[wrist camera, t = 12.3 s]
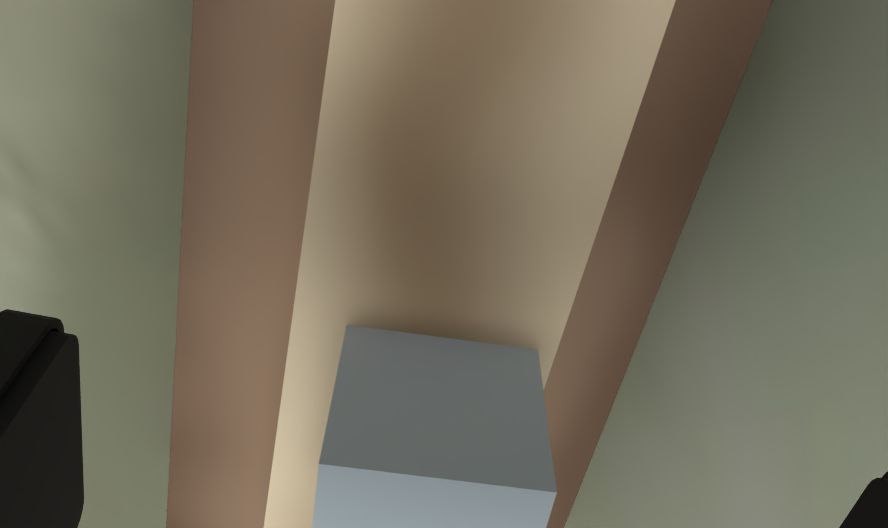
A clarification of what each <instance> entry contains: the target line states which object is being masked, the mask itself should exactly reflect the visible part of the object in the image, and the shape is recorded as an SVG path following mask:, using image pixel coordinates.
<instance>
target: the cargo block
mask: <svg viewBox="0 0 888 528" xmlns="http://www.w3.org/2000/svg"><path fill="white" fill-rule="evenodd" d="M556 494H557V491H556V483H555V475H554V468H553V460H552V452H551V445H550V437H549V430H548V422H547V414H546V407H545V399H544V391H543V384H542V376H541V369H540V361H539V353H538V350H535V349H528V348H520V347H513V346H505V345H497V344H490V343H482V342H474V341H467V340H459V339H452V338H444V337H436V336H429V335H421V334H413V333H406V332H398V331H391V330H383V329H375V328H368V327H360V326H353V325H346V330H345V335H344V340H343V345H342V350H341V355H340V360H339V365H338V370H337V375H336V380H335V385H334V390H333V395H332V400H331V405H330V410H329V415H328V420H327V425H326V430H325V435H324V440H323V445H322V450H321V455H320V460H319V465H318V475H317V485H316V495H315V506H314V516H313V526H312V528H546V527H547V523H548V520H549V517H550V513H551V510H552V507H553V504H554V500H555V497H556Z"/></svg>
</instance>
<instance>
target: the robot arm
mask: <svg viewBox="0 0 888 528" xmlns="http://www.w3.org/2000/svg"><path fill="white" fill-rule="evenodd" d="M83 504H84V486H83V456H82V427H81V397H80V368H79V344H78V339H77V337H76V336H75V335H73V334H67V333H64V327H63V324H62V322H61V320H60V319H57V318H53V317H47V316H42V315H36V314H30V313H25V312H19V311H14V310H8V309H7V310H4V311H1V312H0V528H77V527H78V524H79V521H80V518H81V514H82V510H83ZM839 528H888V472H886V473H885V474H884V476H883V477H882V478H876V479H874V480H872V481H871V482H870V483H869V484H868V486H867V487H866V489H865V490H864V492H863V493H862V495H861V496H860V498H859V499H858V501H857V502H856V504H855V505H854V507H853V508H852V510H851V511H850V513H849V514H848V516H847V517H846V518H845V520H844V521H843V523H842V524H841V526H840V527H839Z"/></svg>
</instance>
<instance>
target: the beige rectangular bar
mask: <svg viewBox="0 0 888 528" xmlns="http://www.w3.org/2000/svg"><path fill="white" fill-rule="evenodd" d="M675 1H676V0H335V7H334V14H333V21H332V29H331V36H330V43H329V51H328V58H327V65H326V73H325V80H324V87H323V95H322V102H321V110H320V117H319V124H318V132H317V139H316V146H315V154H314V161H313V168H312V176H311V183H310V190H309V198H308V205H307V212H306V220H305V227H304V234H303V242H302V249H301V256H300V264H299V271H298V278H297V286H296V293H295V300H294V308H293V315H292V323H291V330H290V337H289V345H288V352H287V359H286V367H285V374H284V381H283V389H282V396H281V403H280V411H279V418H278V425H277V433H276V440H275V447H274V455H273V462H272V469H271V477H270V484H269V491H268V499H267V506H266V514H265V521H264V528H312V526H313V516H314V506H315V495H316V485H317V475H318V465H319V460H320V455H321V450H322V445H323V440H324V435H325V430H326V425H327V420H328V415H329V410H330V405H331V400H332V395H333V390H334V385H335V380H336V375H337V370H338V365H339V360H340V355H341V350H342V345H343V340H344V335H345V330H346V325H353V326H360V327H368V328H375V329H383V330H391V331H398V332H406V333H413V334H421V335H429V336H436V337H444V338H452V339H459V340H467V341H474V342H482V343H490V344H497V345H505V346H513V347H520V348H528V349H535V350H538V353H539V361H540V369H541V376H542V384H543V391H544V388H545V385H546V382H547V379H548V376H549V373H550V370H551V367H552V364H553V361H554V358H555V355H556V352H557V349H558V346H559V343H560V340H561V337H562V334H563V332H564V329H565V326H566V323H567V320H568V317H569V314H570V311H571V308H572V305H573V302H574V299H575V296H576V293H577V290H578V287H579V284H580V281H581V278H582V275H583V273H584V270H585V267H586V264H587V261H588V258H589V255H590V252H591V249H592V246H593V243H594V240H595V237H596V234H597V231H598V228H599V225H600V222H601V219H602V216H603V214H604V211H605V208H606V205H607V202H608V199H609V196H610V193H611V190H612V187H613V184H614V181H615V178H616V175H617V172H618V169H619V166H620V163H621V160H622V157H623V155H624V152H625V149H626V146H627V143H628V140H629V137H630V134H631V131H632V128H633V125H634V122H635V119H636V116H637V113H638V110H639V107H640V104H641V101H642V98H643V96H644V93H645V90H646V87H647V84H648V81H649V78H650V75H651V72H652V69H653V66H654V63H655V60H656V57H657V54H658V51H659V48H660V45H661V42H662V39H663V36H664V34H665V31H666V28H667V25H668V22H669V19H670V16H671V13H672V10H673V7H674V4H675Z"/></svg>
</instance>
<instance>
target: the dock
mask: <svg viewBox="0 0 888 528" xmlns="http://www.w3.org/2000/svg"><path fill="white" fill-rule="evenodd" d="M772 2H773V0H676V1H675V4H674V7H673V10H672V13H671V16H670V19H669V22H668V25H667V28H666V31H665V34H664V36H663V39H662V42H661V45H660V48H659V51H658V54H657V57H656V60H655V63H654V66H653V69H652V72H651V75H650V78H649V81H648V84H647V87H646V90H645V93H644V96H643V98H642V101H641V104H640V107H639V110H638V113H637V116H636V119H635V122H634V125H633V128H632V131H631V134H630V137H629V140H628V143H627V146H626V149H625V152H624V155H623V157H622V160H621V163H620V166H619V169H618V172H617V175H616V178H615V181H614V184H613V187H612V190H611V193H610V196H609V199H608V202H607V205H606V208H605V211H604V214H603V216H602V219H601V222H600V225H599V228H598V231H597V234H596V237H595V240H594V243H593V246H592V249H591V252H590V255H589V258H588V261H587V264H586V267H585V270H584V273H583V275H582V278H581V281H580V284H579V287H578V290H577V293H576V296H575V299H574V302H573V305H572V308H571V311H570V314H569V317H568V320H567V323H566V326H565V329H564V332H563V334H562V337H561V340H560V343H559V346H558V349H557V352H556V355H555V358H554V361H553V364H552V367H551V370H550V373H549V376H548V379H547V382H546V385H545V388H544V399H545V407H546V414H547V422H548V430H549V437H550V445H551V452H552V460H553V468H554V475H555V483H556V491H557V494H556V497H555V500H554V504H553V507H552V510H551V513H550V517H549V520H548V523H547V527H546V528H564V526H565V523H566V521H567V518H568V516H569V513H570V511H571V508H572V506H573V503H574V501H575V498H576V496H577V493H578V491H579V488H580V486H581V483H582V481H583V478H584V476H585V473H586V471H587V468H588V465H589V463H590V460H591V458H592V455H593V453H594V450H595V448H596V445H597V443H598V440H599V438H600V435H601V433H602V430H603V428H604V425H605V423H606V420H607V418H608V415H609V413H610V410H611V408H612V405H613V403H614V400H615V398H616V395H617V393H618V390H619V387H620V385H621V382H622V380H623V377H624V375H625V372H626V370H627V367H628V365H629V362H630V360H631V357H632V355H633V352H634V350H635V347H636V345H637V342H638V340H639V337H640V335H641V332H642V330H643V327H644V325H645V322H646V320H647V317H648V315H649V312H650V309H651V307H652V304H653V302H654V299H655V297H656V294H657V292H658V289H659V287H660V284H661V282H662V279H663V277H664V274H665V272H666V269H667V267H668V264H669V262H670V259H671V257H672V254H673V252H674V249H675V247H676V244H677V242H678V239H679V237H680V234H681V231H682V229H683V226H684V224H685V221H686V219H687V216H688V214H689V211H690V209H691V206H692V204H693V201H694V199H695V196H696V194H697V191H698V189H699V186H700V184H701V181H702V179H703V176H704V174H705V171H706V169H707V166H708V164H709V161H710V159H711V156H712V153H713V151H714V148H715V146H716V143H717V141H718V138H719V136H720V133H721V131H722V128H723V126H724V123H725V121H726V118H727V116H728V113H729V111H730V108H731V106H732V103H733V101H734V98H735V96H736V93H737V91H738V88H739V86H740V83H741V81H742V78H743V75H744V73H745V70H746V68H747V65H748V63H749V60H750V58H751V55H752V53H753V50H754V48H755V45H756V43H757V40H758V38H759V35H760V33H761V30H762V28H763V25H764V23H765V20H766V18H767V15H768V13H769V10H770V8H771V5H772ZM334 7H335V0H193V20H192V39H191V58H190V77H189V97H188V116H187V135H186V154H185V174H184V193H183V212H182V231H181V251H180V270H179V289H178V308H177V328H176V347H175V366H174V385H173V405H172V424H171V443H170V462H169V482H168V501H167V520H166V528H264V521H265V514H266V506H267V499H268V491H269V484H270V477H271V469H272V462H273V455H274V447H275V440H276V433H277V425H278V418H279V411H280V403H281V396H282V389H283V381H284V374H285V367H286V359H287V352H288V345H289V337H290V330H291V323H292V315H293V308H294V300H295V293H296V286H297V278H298V271H299V264H300V256H301V249H302V242H303V234H304V227H305V220H306V212H307V205H308V198H309V190H310V183H311V176H312V168H313V161H314V154H315V146H316V139H317V132H318V124H319V117H320V110H321V102H322V95H323V87H324V80H325V73H326V65H327V58H328V51H329V43H330V36H331V29H332V21H333V14H334Z"/></svg>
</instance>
